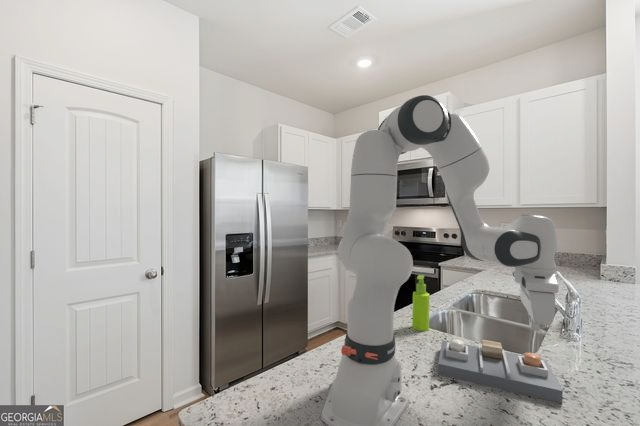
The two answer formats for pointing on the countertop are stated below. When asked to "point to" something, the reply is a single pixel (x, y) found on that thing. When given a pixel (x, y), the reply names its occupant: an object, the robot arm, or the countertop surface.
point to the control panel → (499, 372)
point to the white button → (457, 345)
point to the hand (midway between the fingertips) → (534, 329)
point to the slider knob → (492, 349)
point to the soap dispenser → (420, 306)
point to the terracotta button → (532, 360)
